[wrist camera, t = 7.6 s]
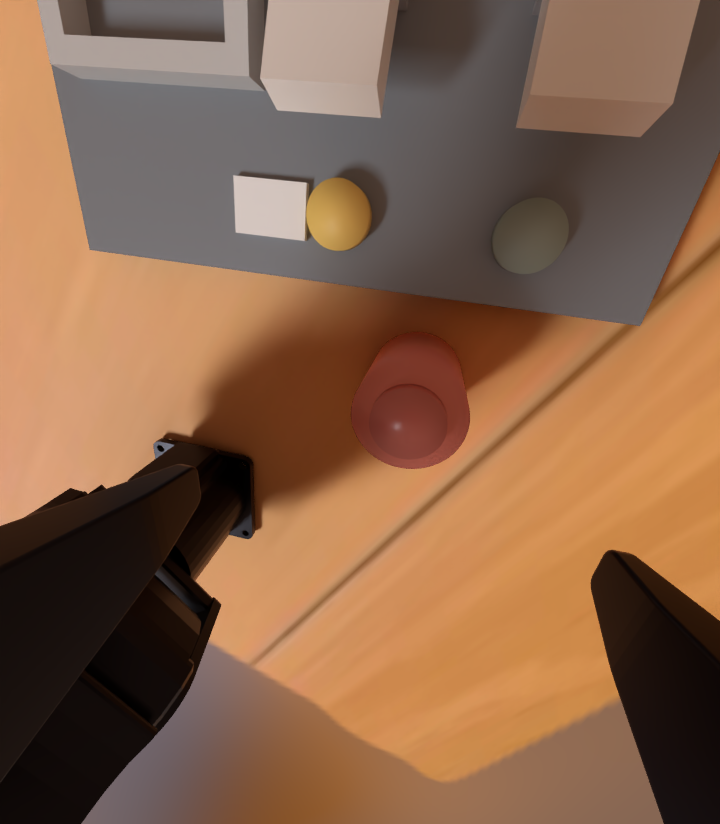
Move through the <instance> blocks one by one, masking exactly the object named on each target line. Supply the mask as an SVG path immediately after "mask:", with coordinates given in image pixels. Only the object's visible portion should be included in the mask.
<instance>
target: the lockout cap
mask: <svg viewBox="0 0 720 824" xmlns="http://www.w3.org/2000/svg"><path fill="white" fill-rule="evenodd" d="M351 420H352V425H353V429H354V431H355V434H356V436H357V438H358V440H359V441H360V443H361V444H362V445H363V447H364V448H365V449H366V450H367V451H368V452H369V453H370V454H372V455H373V456H374V457H376V458H377V459H379V460H380V461H382V462H384V463H387V464H389V465H392V466H395V467H399V468H406V469H418V468H425V467H429V466H433V465H436V464H438V463H440V462H442V461H444V460H445V459H447V458H449V457H450V456H451V455H452V454H454V453H455V452H456V450H457V449H458V448H459V447H460V446H461V444H462V443H463V441H464V439H465V437H466V435H467V432H468V429H469V424H470V411H469V405H468V400H467V395H466V391H465V386H464V381H463V376H462V372H461V367H460V363H459V360H458V357H457V355H456V354H455V352H454V350H453V349H452V348H451V347H450V346H449V345H448V344H447V343H446V342H445V341H443V340H442V339H440V338H439V337H437V336H434V335H432V334H428V333H424V332H410V333H405V334H402V335H399V336H397V337H395V338H393V339H391V340H390V341H389V342H387V343H386V344H385V345H384V346H383V347H382V348H381V350H380V351H379V353H378V354H377V356H376V358H375V359H374V361H373V363H372V365H371V366H370V368H369V370H368V372H367V374H366V375H365V377H364V379H363V381H362V382H361V384H360V386H359V388H358V390H357V392H356V394H355V396H354V399H353V402H352V407H351Z"/></svg>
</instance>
